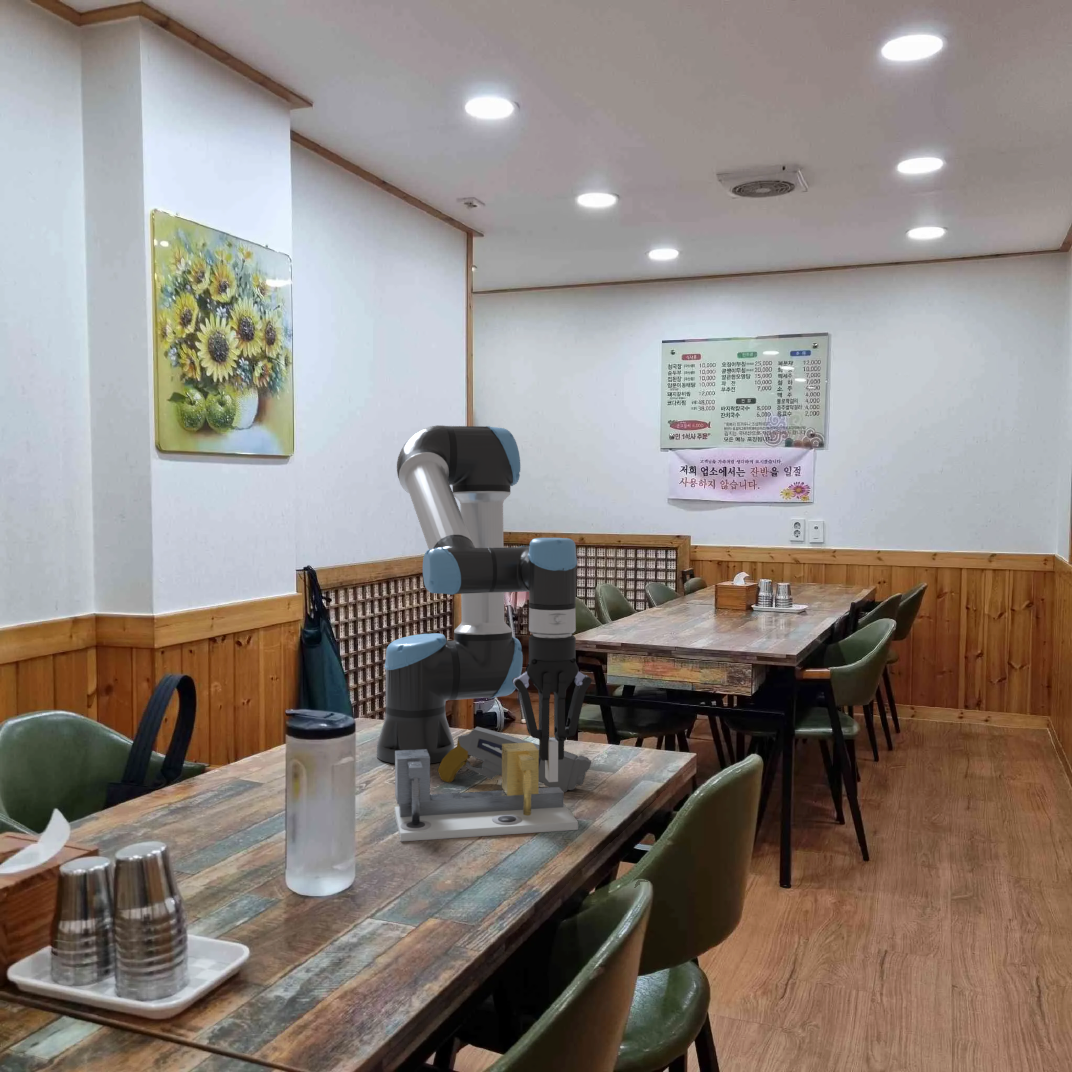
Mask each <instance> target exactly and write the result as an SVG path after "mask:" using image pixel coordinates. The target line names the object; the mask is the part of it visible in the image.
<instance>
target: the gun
mask: <svg viewBox="0 0 1072 1072" xmlns="http://www.w3.org/2000/svg"><path fill="white" fill-rule="evenodd" d="M510 743H531V741H528V740H525V739H522V738H518V737H514V736H512V735H508V734H505V733H502V732H498V731H496V730H492V729H488V728H484V727H480V726H476V727H475V728H473V730H471V732H469V733H465V734H462V735H459V736H458V738H457V742H456V746H454V749H452V750H450V752H449V753H448V754H447V755H446V756H445V757H444V758H443V759H442V761H441V762H440V764H439V767H438V769H437V772H438V774H439V777H440V780H442V781H443V782H447V783H452V782H453V781H454V780H455V778H456V776H457V773H458V772H459V771H460V769H462V767H463V766H465V767H466V768H467V769H469V770H471V771H473V772H475V773H476V774H479V775H481V776H483V777H484V778H487V779H488V780H491V781H492V780H493V779H494V778H495V777H496V776H502V744H510ZM532 743H533V744H534V745H535V746H536V748H537V749H538V750H539V744H537V743H535V742H532ZM470 757H473V758H475V759H477V760H479V761H482V764H481V767H480V768H479V767H478V768H477V767H476V766H473V765H471V763H470V761H469V760H468V759H469V758H470ZM591 764H592V760H591V759H589V758H588V757H587V756H584V755H577V754H575V753H573V752H569V751H566V750H564V758H563V759H562V760H558V782H548V780H547V779H546V778H545V761H542V760H541V758H540V756H539V775H538V783H541V784H544V786H545V787H546V788H551V787H560V789H561V790H562V791H563V792H564V793H567V791H573V790H575V788H576V787H577V786H579V787H580V786H583V783H584V781H585V777H586V773H587V772H588V771H589V770H590V768H591V766H592V765H591Z"/></svg>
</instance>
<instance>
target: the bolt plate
mask: <svg viewBox="0 0 1072 1072" xmlns="http://www.w3.org/2000/svg"><path fill="white" fill-rule="evenodd" d="M394 817H395V822H396V826H397V831H398V836H399V840H400V842H412V841H413V842H414V841H426V840H445V839H457V838H459V839H460V838H474V837H487V836H488V837H489V836H504V835H506V836H507V835H517V834H518V835H519V834H531V833H533V834H535V833H547V832H549V833H550V832H551V833H552V832H564V831H577V830H579V821H578V820H577V819H576V818H575V816H574V814H573V813H572V812H571V811H570V809H569V808H568V807H567V806H566V804H565V803H563V807H558V808H542V809H531V815H528V816H527V815H523V810H509V811H493V812H477V813H460V814H444V815H428V816H420V823H418V824H413V823H412V816H411V817H400V814H399V805H398V806H394Z"/></svg>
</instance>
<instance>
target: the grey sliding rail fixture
mask: <svg viewBox="0 0 1072 1072" xmlns="http://www.w3.org/2000/svg"><path fill="white" fill-rule="evenodd" d="M394 775H395V776H394V777H395V778H394V780H395V781H394V792H395V793H394V794H395V799H396V804H397V805H398V806H399V814H400V817H411V816H412V823H413V824H418V823H420V816H428V815H444V814H460V813H477V812H493V811H509V810H523V795H511V796H507V794H506V793H505V791H504V789H503V790H498V789H497V790H485V791H484V790H483V791H467V792H450V793H431V763H430V756H429V754H428V751H427V749H422V750H401V751H395V763H394ZM564 793H565V792H563V791H562V790H561V789H560V787H551V788H549V787H538V794H531V809H542V808H558V807H563V803H564V798H565V796H564ZM564 804H565V803H564Z"/></svg>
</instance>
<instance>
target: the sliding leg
mask: <svg viewBox="0 0 1072 1072" xmlns="http://www.w3.org/2000/svg"><path fill="white" fill-rule="evenodd" d="M530 742H531V741H530ZM533 743H534V742H531V743H510V744H502V775H501V788H502V789H503V790H504V791H505V793H506V794H507V796H511V795H523V815H527V816H528V815H531V794H538V788H539V781H538V775H539V750H538V749H537V748H536V746H535V745H534V744H533Z"/></svg>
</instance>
